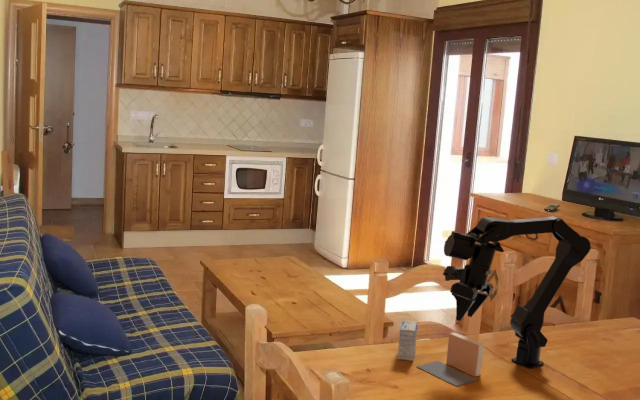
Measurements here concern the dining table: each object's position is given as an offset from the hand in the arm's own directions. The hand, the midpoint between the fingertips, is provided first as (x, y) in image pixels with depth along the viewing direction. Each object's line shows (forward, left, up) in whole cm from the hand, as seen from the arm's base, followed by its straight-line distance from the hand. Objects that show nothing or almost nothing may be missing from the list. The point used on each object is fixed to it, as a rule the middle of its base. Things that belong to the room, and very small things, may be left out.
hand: (463, 318), depth 186 cm
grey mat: (+9, +3, -13) cm, 16 cm away
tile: (+2, +3, -13) cm, 13 cm away
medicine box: (+9, -11, -13) cm, 20 cm away
